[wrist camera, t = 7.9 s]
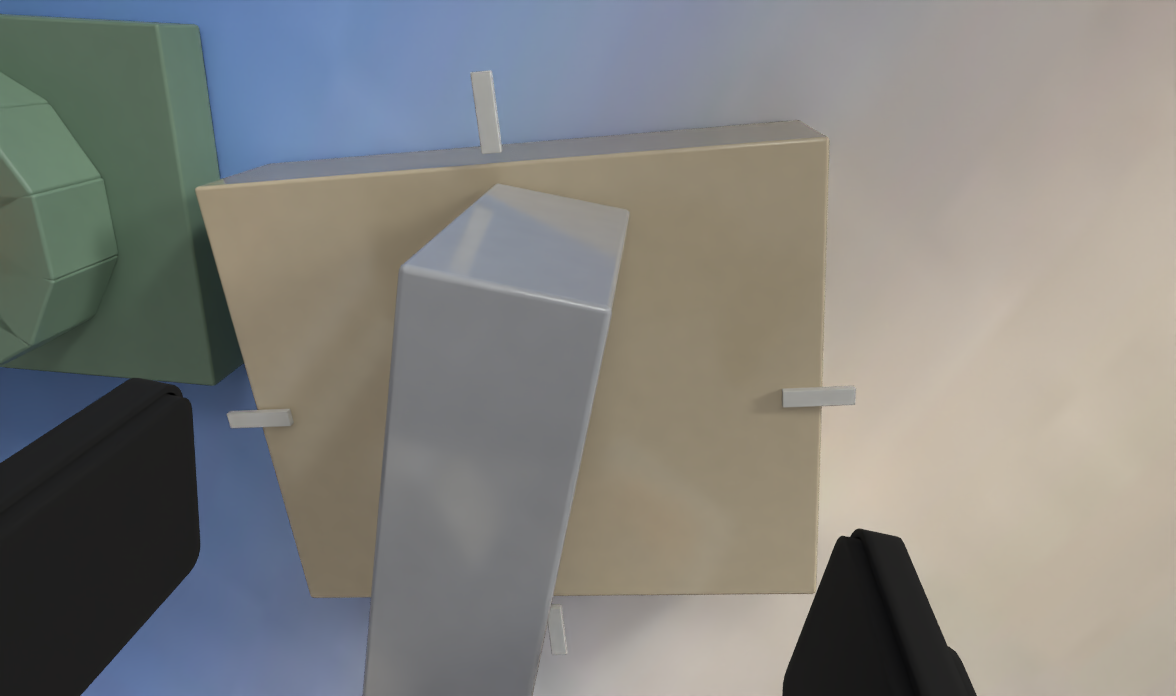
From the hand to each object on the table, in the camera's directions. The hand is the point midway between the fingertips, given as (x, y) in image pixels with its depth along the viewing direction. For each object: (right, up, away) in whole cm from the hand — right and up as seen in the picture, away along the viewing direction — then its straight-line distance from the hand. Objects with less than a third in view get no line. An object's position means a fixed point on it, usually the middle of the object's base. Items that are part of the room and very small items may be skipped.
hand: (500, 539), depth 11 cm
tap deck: (0, +3, +8) cm, 8 cm away
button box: (-12, +6, +7) cm, 16 cm away
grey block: (0, +1, +5) cm, 5 cm away
